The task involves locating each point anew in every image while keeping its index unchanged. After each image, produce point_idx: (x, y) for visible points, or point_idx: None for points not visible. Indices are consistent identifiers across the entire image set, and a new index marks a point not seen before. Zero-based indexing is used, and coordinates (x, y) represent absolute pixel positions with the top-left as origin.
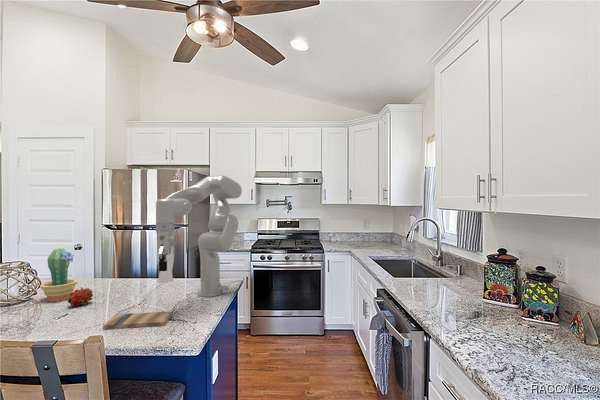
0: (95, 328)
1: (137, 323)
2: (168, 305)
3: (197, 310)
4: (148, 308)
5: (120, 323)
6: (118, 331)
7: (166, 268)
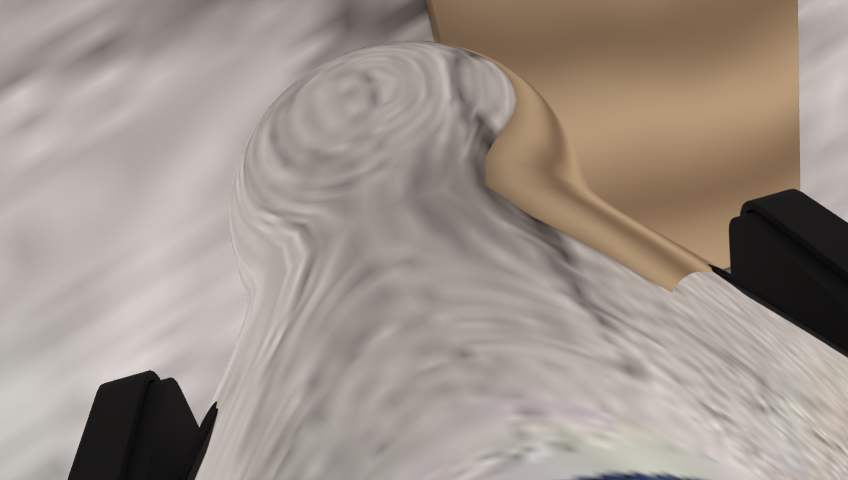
0: None
1: (798, 110)
2: (57, 172)
3: None
4: (222, 336)
5: None
6: (842, 209)
7: (842, 227)
